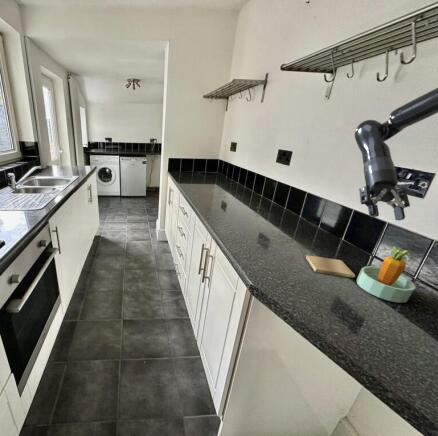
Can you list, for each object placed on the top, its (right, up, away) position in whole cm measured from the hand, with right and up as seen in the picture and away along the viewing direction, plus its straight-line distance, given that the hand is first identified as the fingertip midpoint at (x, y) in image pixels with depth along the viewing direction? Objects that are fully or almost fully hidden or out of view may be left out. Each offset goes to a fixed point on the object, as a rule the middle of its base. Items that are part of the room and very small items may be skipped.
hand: (387, 218), depth 75 cm
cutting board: (-11, -18, +11) cm, 24 cm away
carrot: (-3, -23, -1) cm, 23 cm away
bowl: (-3, -23, 0) cm, 23 cm away
